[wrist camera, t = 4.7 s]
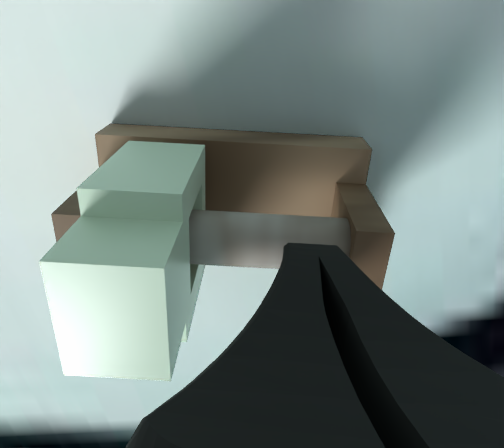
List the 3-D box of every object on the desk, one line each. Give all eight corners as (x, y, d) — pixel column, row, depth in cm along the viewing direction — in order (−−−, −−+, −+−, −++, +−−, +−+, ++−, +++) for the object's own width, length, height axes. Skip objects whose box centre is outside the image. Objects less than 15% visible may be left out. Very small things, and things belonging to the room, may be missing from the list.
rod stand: (362, 137, 15) (404, 190, 10) (343, 244, 17) (372, 328, 12) (110, 123, 15) (42, 170, 10) (122, 232, 17) (69, 311, 12)
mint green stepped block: (205, 144, 13) (161, 236, 8) (205, 263, 15) (172, 403, 10) (128, 140, 13) (31, 228, 8) (139, 260, 15) (68, 396, 10)
